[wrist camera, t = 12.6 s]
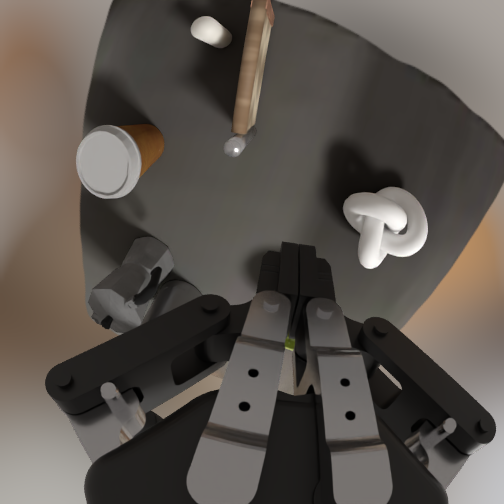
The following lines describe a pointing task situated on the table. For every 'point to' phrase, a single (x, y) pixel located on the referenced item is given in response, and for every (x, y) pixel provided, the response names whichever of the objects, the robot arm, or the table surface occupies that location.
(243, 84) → the brown flat block
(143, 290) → the coffeepot
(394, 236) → the white decorative knot
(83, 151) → the disposable coffee cup
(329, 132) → the table surface
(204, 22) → the post
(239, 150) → the translucent grey rod
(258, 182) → the table surface
